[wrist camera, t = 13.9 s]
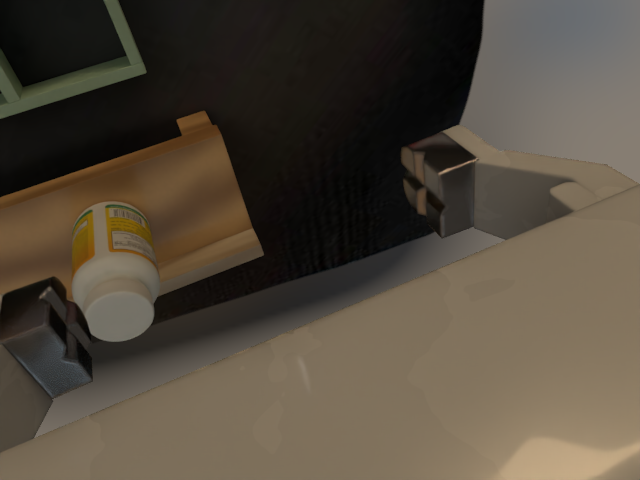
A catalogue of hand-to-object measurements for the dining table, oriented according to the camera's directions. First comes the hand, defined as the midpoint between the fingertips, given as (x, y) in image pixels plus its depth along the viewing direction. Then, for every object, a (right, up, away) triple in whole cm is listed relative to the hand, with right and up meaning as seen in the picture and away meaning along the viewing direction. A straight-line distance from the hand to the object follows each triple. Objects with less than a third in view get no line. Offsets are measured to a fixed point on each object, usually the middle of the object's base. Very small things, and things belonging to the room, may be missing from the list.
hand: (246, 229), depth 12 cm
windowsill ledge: (-17, +3, +31) cm, 36 cm away
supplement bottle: (-14, +1, +27) cm, 30 cm away
